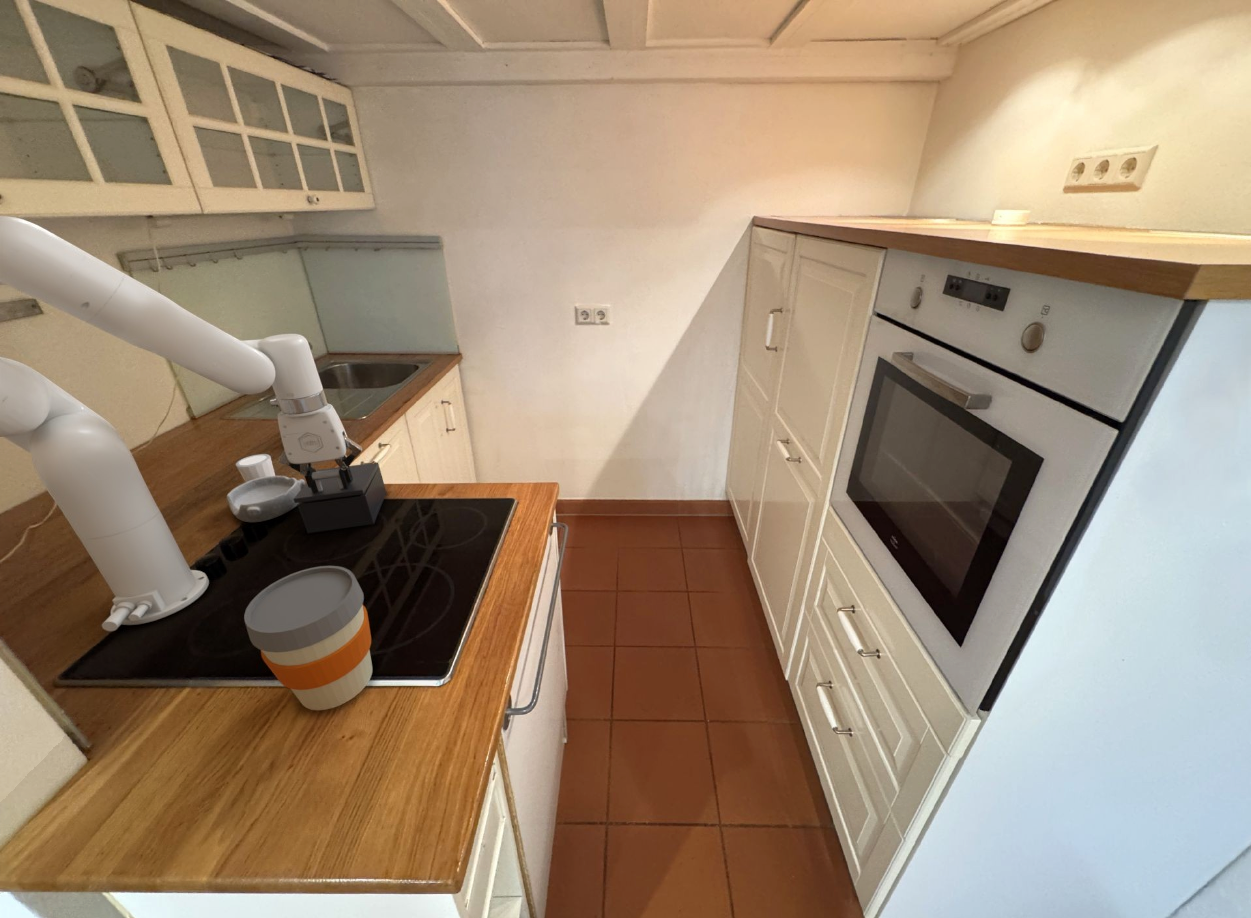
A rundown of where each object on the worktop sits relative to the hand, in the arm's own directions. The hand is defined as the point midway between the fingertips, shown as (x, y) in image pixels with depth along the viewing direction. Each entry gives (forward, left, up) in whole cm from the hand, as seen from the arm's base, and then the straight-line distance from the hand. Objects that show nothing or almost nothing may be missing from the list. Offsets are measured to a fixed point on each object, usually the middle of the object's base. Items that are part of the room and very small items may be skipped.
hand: (332, 486), depth 101 cm
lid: (+4, 0, -1) cm, 4 cm away
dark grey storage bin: (+4, 0, -9) cm, 10 cm away
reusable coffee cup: (-44, -10, -9) cm, 46 cm away
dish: (+11, +18, -9) cm, 23 cm away
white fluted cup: (+23, +24, -9) cm, 35 cm away
